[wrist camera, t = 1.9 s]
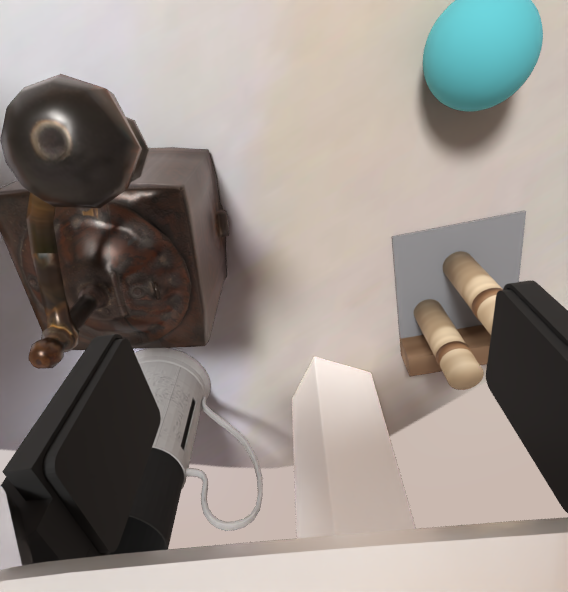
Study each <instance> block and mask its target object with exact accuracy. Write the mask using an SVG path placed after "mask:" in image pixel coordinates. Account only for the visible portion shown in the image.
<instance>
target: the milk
mask: <svg viewBox="0 0 568 592" xmlns="http://www.w3.org/2000/svg"><path fill="white" fill-rule="evenodd" d="M292 422H293V450H294V476H295V477H294V478H295V505H296V534H297V538H308V537H320V536H332V535H345V534H357V533H369V532H381V531H393V530H406V529H416V527H415V524H414V520H413V517H412V513H411V510H410V506H409V503H408V499H407V496H406V492H405V489H404V485H403V482H402V478H401V475H400V471H399V468H398V464H397V461H396V457H395V454H394V451H393V447H392V444H391V440H390V437H389V433H388V430H387V426H386V423H385V419H384V416H383V412H382V409H381V405H380V402H379V398H378V395H377V391H376V388H375V385H374V381H373V378H372V374H371V372H368V371H364V370H361V369H357V368H354V367H351V366H347V365H344V364H340V363H337V362H333V361H330V360H326V359H323V358H319V357H316V356H314V357H313V359H312V361H311V363H310V365H309V367H308V369H307V371H306V373H305V375H304V377H303V379H302V381H301V382H300V384H299V386H298V388H297V390H296V392H295V394H294V396H293V398H292Z"/></svg>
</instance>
